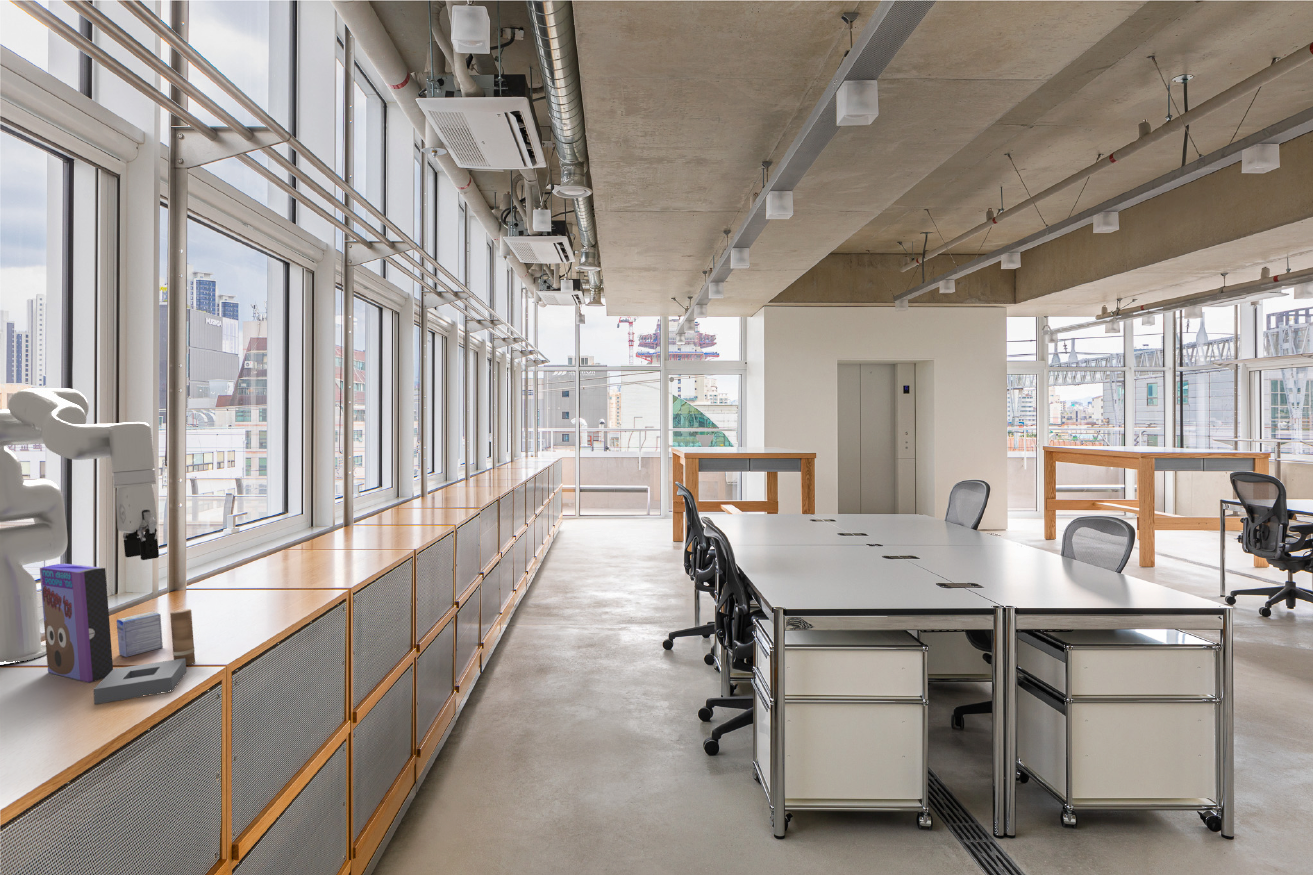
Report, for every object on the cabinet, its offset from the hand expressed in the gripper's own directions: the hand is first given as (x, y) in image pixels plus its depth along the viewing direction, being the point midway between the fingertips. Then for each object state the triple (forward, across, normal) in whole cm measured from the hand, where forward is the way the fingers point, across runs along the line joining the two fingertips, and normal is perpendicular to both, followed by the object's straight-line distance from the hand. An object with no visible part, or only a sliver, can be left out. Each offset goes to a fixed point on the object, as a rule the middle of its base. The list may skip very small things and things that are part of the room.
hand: (142, 557), depth 158 cm
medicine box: (+25, -23, +5) cm, 34 cm away
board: (+26, +7, -4) cm, 27 cm away
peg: (+26, -2, +7) cm, 27 cm away
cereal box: (+26, -16, -9) cm, 31 cm away
